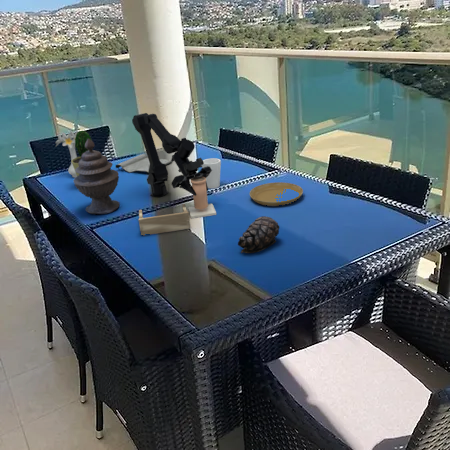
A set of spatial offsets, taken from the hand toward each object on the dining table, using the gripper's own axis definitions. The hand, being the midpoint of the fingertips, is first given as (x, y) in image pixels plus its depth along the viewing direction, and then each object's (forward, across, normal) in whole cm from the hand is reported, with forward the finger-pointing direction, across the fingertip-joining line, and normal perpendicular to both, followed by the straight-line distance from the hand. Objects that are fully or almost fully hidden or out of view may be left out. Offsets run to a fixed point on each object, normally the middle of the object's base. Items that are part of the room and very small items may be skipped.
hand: (201, 193), depth 206 cm
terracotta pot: (+4, 0, +6) cm, 7 cm away
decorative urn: (-22, -28, +35) cm, 50 cm away
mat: (-50, +20, +64) cm, 84 cm away
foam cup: (-9, +24, +23) cm, 34 cm away
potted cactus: (-47, -16, +61) cm, 78 cm away
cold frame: (+4, -18, +9) cm, 20 cm away
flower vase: (-64, -13, +77) cm, 101 cm away
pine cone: (+36, -6, -23) cm, 43 cm away
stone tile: (+6, 0, +7) cm, 9 cm away
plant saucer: (+16, +32, -2) cm, 36 cm away
